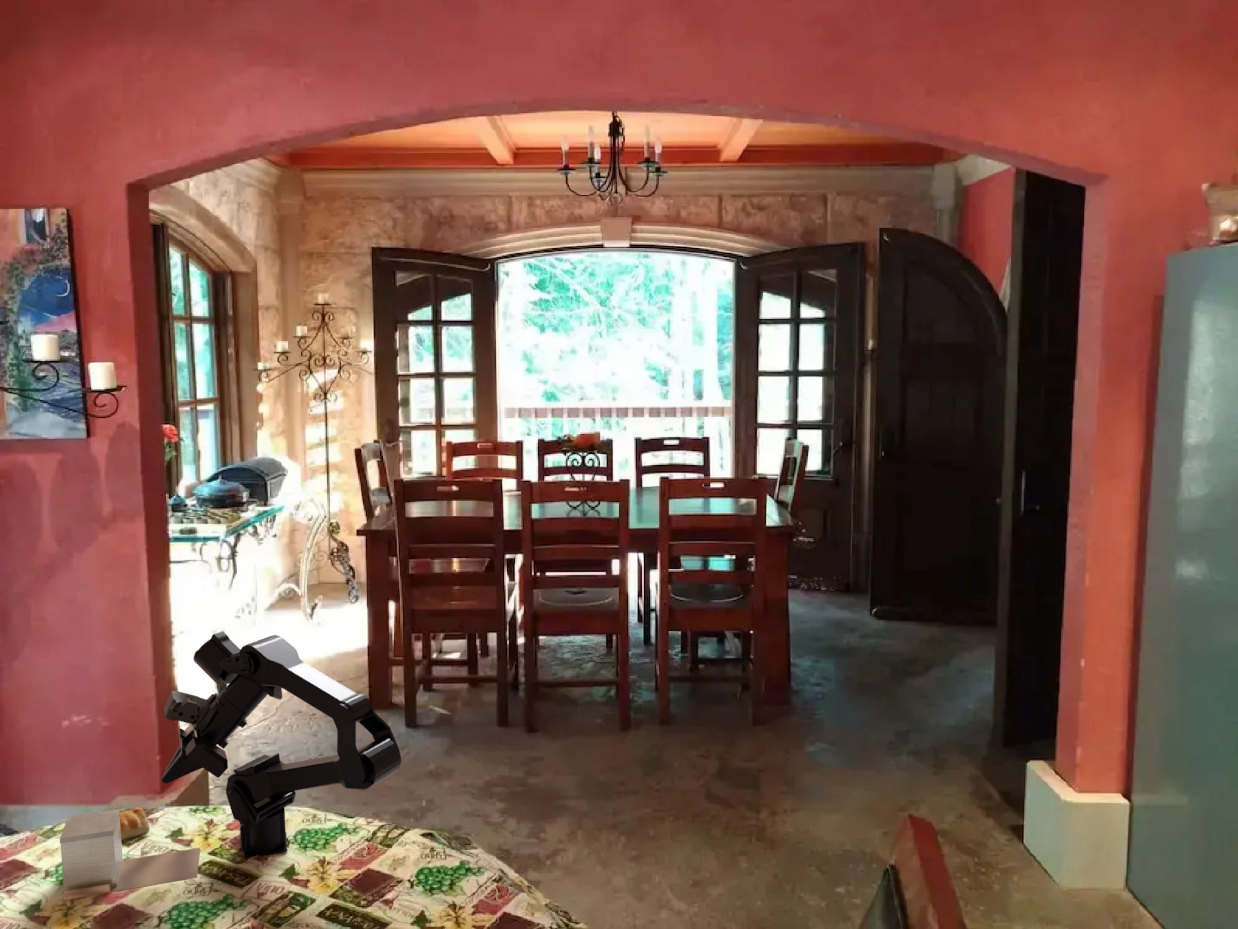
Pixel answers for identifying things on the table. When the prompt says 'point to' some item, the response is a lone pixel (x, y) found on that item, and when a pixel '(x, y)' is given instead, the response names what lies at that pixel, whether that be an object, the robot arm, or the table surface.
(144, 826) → the pastry
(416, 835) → the table surface
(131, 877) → the board
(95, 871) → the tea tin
